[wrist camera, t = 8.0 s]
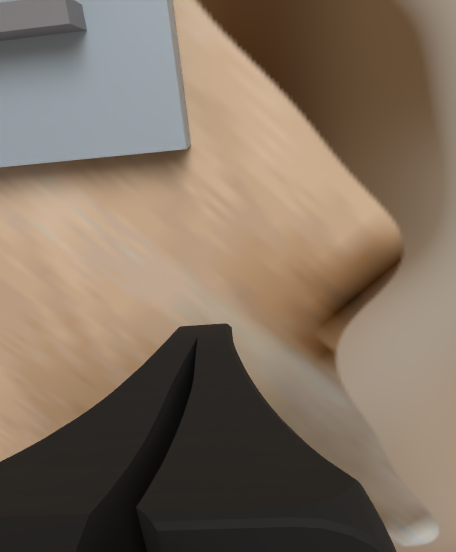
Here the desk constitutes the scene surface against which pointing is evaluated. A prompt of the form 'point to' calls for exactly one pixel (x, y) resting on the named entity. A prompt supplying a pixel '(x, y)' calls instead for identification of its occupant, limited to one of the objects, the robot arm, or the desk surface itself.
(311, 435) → the desk surface
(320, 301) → the desk surface
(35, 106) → the sliding latch plate
